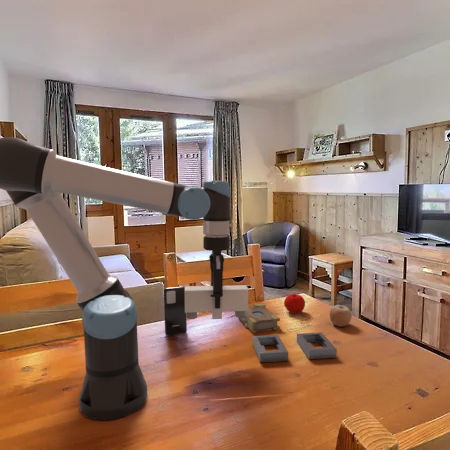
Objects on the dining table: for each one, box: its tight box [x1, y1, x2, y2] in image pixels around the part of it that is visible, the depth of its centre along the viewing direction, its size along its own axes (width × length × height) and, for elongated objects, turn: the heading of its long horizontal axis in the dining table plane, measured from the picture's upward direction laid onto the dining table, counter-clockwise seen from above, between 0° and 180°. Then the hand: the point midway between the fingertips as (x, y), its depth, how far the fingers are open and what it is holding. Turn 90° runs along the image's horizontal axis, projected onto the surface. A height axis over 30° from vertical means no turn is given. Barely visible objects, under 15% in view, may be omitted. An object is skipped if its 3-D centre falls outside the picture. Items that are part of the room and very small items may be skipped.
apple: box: [283, 293, 306, 315], centre depth 137 cm, size 8×8×7 cm
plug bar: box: [184, 284, 249, 320], centre depth 103 cm, size 18×4×8 cm, turn 96°
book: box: [238, 303, 281, 334], centre depth 127 cm, size 15×11×5 cm
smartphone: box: [163, 286, 188, 336], centre depth 118 cm, size 7×1×16 cm, turn 107°
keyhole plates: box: [252, 331, 338, 363], centre depth 106 cm, size 22×12×2 cm, turn 96°
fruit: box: [329, 302, 353, 328], centre depth 124 cm, size 8×7×8 cm
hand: (216, 315), depth 103 cm, fingers closed on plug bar, 4 cm apart
